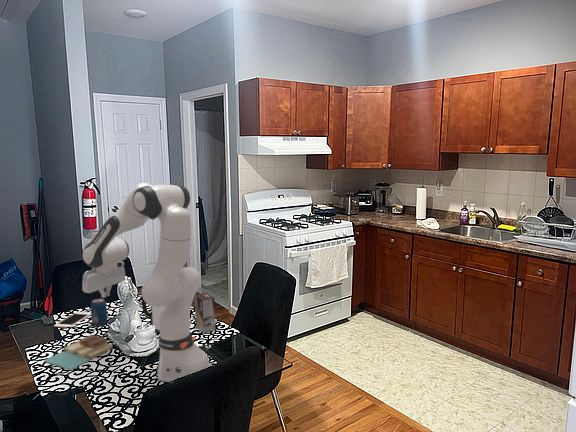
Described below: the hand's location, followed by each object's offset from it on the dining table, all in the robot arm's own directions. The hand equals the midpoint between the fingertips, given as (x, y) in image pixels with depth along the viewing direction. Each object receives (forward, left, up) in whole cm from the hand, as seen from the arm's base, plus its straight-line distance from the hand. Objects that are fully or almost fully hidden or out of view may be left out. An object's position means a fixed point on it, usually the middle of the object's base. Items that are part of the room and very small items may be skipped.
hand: (105, 296), depth 185 cm
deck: (0, +11, -21) cm, 23 cm away
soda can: (+19, -11, -21) cm, 30 cm away
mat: (0, +21, -21) cm, 29 cm away
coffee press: (-13, -20, -21) cm, 32 cm away
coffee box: (-31, -29, -21) cm, 48 cm away
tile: (0, +8, -19) cm, 20 cm away
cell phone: (+35, -9, -21) cm, 42 cm away
